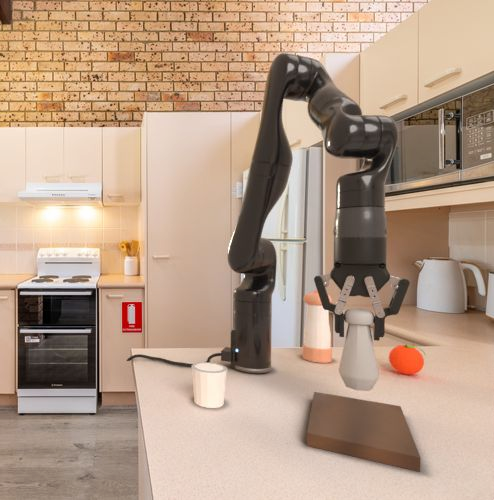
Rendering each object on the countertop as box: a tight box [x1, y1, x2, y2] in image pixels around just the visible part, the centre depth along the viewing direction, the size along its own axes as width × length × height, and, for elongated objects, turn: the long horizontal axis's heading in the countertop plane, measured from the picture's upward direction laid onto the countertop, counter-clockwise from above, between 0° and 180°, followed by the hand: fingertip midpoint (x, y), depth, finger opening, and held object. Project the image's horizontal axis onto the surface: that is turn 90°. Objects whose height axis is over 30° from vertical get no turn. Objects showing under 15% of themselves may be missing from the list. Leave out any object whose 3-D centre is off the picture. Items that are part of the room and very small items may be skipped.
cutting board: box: [306, 391, 421, 472], centre depth 65 cm, size 14×20×2 cm
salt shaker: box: [338, 307, 380, 392], centre depth 65 cm, size 6×6×13 cm
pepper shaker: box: [301, 288, 333, 364], centre depth 108 cm, size 7×7×19 cm
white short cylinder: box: [191, 361, 228, 409], centre depth 77 cm, size 7×7×7 cm
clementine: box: [388, 344, 427, 376], centre depth 95 cm, size 8×7×7 cm
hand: (358, 337), depth 65 cm, fingers closed on salt shaker, 4 cm apart
